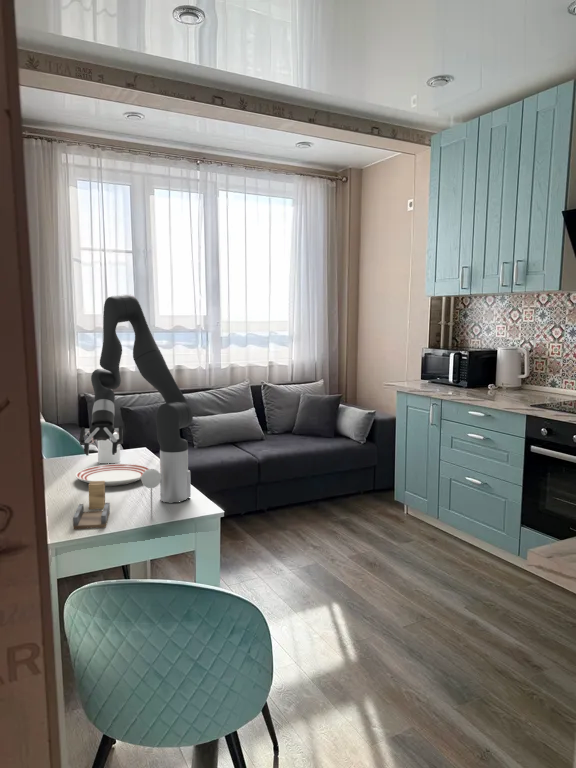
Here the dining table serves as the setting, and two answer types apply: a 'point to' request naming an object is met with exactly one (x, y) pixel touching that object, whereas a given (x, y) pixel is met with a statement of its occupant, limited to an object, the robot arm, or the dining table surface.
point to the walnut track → (91, 518)
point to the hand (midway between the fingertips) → (100, 454)
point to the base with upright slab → (108, 451)
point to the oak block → (96, 494)
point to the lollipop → (151, 480)
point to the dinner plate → (112, 474)
